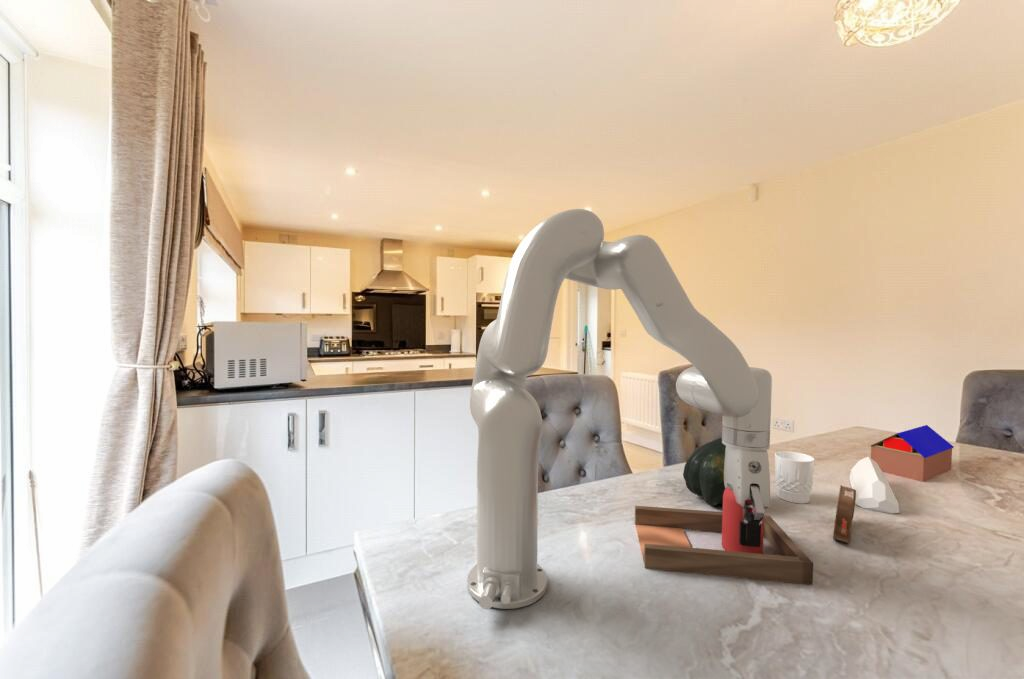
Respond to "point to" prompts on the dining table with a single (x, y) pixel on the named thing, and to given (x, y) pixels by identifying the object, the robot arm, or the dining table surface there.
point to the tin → (844, 514)
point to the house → (913, 454)
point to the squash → (707, 472)
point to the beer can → (735, 524)
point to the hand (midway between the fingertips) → (742, 534)
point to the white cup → (794, 476)
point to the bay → (674, 553)
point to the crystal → (872, 487)
